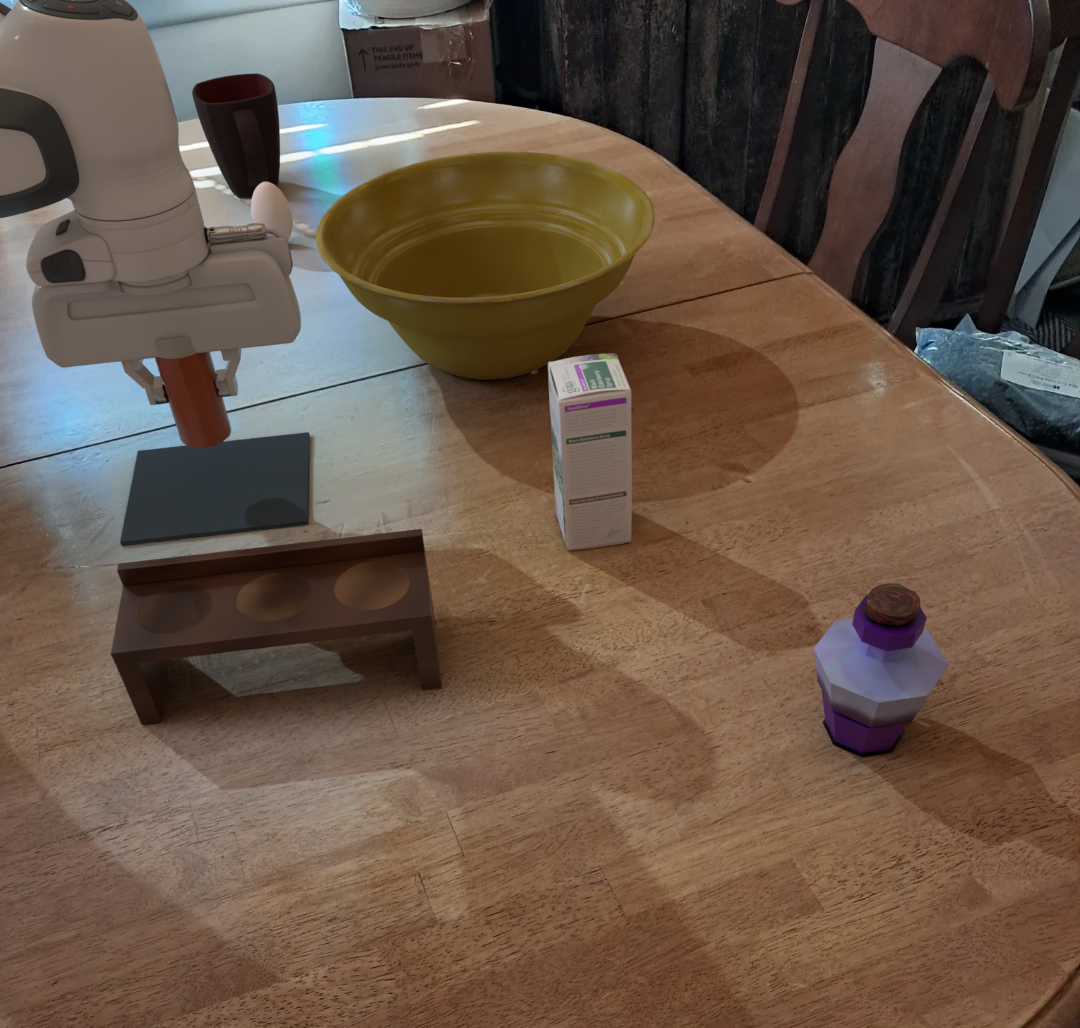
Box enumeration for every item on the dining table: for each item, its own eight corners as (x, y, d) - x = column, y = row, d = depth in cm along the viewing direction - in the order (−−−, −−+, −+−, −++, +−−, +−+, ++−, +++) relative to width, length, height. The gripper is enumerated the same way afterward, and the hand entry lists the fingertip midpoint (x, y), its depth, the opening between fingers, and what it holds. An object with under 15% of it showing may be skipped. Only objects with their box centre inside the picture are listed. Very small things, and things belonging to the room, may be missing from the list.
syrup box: (633, 543, 96) (636, 387, 85) (563, 553, 95) (558, 397, 85) (619, 503, 100) (620, 349, 89) (551, 512, 99) (545, 358, 89)
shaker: (177, 451, 98) (142, 343, 91) (181, 422, 101) (147, 315, 94) (231, 445, 98) (200, 337, 91) (234, 416, 101) (204, 309, 94)
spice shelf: (141, 725, 84) (103, 637, 77) (152, 650, 89) (117, 562, 83) (442, 688, 85) (428, 598, 79) (434, 617, 90) (421, 528, 84)
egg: (271, 235, 140) (257, 172, 134) (304, 239, 138) (292, 176, 133) (251, 252, 137) (236, 188, 131) (285, 256, 135) (271, 193, 130)
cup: (284, 167, 154) (265, 69, 145) (307, 207, 145) (287, 105, 136) (210, 181, 152) (186, 82, 143) (228, 222, 143) (204, 119, 134)
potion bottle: (927, 692, 83) (965, 561, 74) (927, 782, 77) (968, 652, 68) (805, 677, 84) (828, 546, 76) (796, 764, 79) (819, 634, 70)
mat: (121, 545, 98) (119, 542, 98) (138, 454, 108) (137, 450, 108) (308, 524, 99) (307, 520, 99) (309, 435, 109) (308, 431, 109)
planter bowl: (398, 467, 105) (377, 330, 95) (301, 315, 125) (275, 189, 115) (708, 380, 113) (718, 245, 103) (569, 250, 133) (566, 128, 124)
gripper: (284, 203, 90) (317, 364, 100) (18, 230, 89) (79, 390, 99) (283, 238, 85) (317, 403, 96) (3, 267, 84) (68, 431, 94)
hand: (194, 397), depth 97 cm, fingers closed on shaker, 4 cm apart
